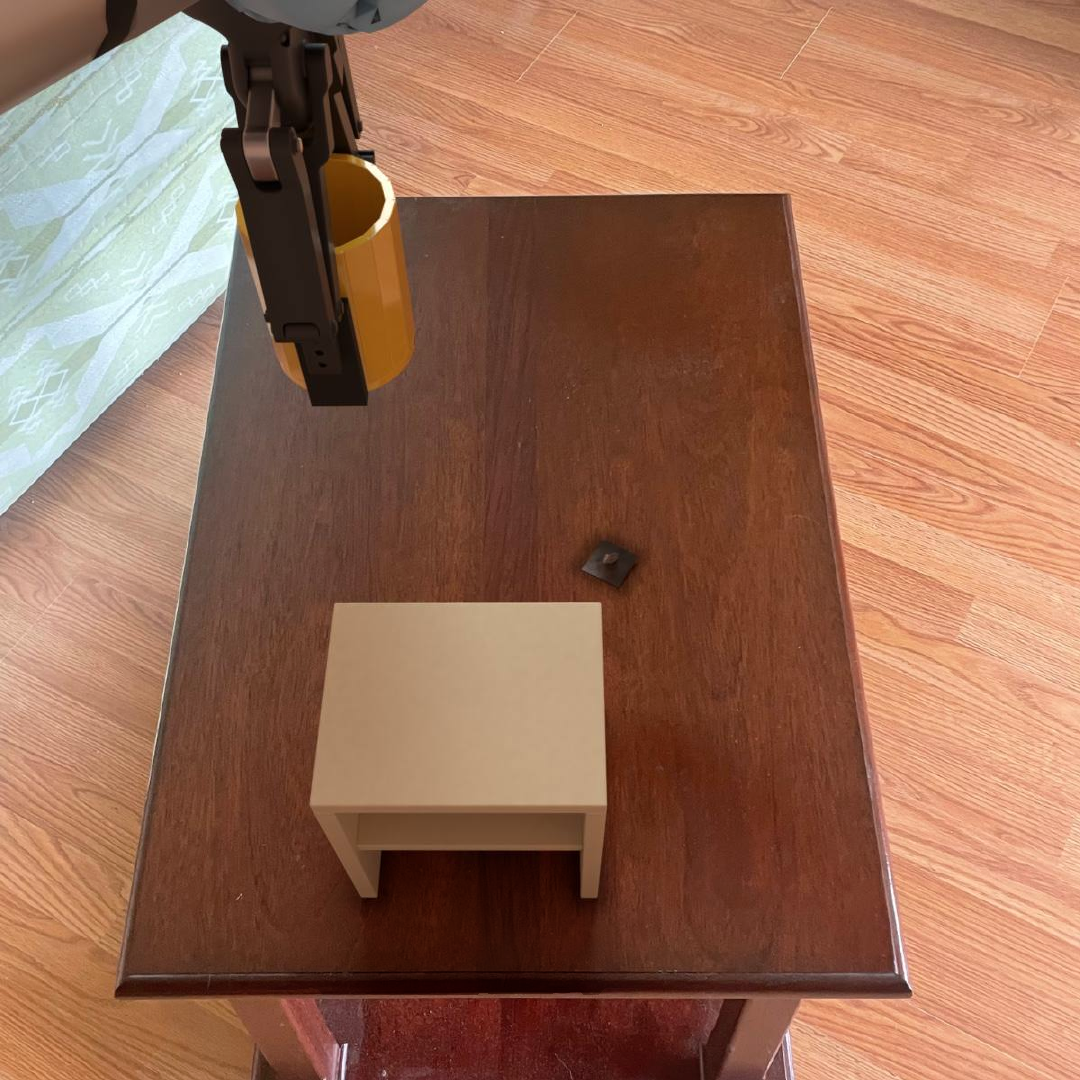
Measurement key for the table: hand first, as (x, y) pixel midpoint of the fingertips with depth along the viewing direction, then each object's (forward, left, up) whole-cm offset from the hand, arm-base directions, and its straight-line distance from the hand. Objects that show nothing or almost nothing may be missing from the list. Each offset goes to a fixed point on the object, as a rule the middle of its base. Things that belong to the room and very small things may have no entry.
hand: (347, 340), depth 56 cm
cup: (0, 0, 0) cm, 0 cm away
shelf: (-5, -16, -25) cm, 30 cm away
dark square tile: (+13, -7, -25) cm, 29 cm away
